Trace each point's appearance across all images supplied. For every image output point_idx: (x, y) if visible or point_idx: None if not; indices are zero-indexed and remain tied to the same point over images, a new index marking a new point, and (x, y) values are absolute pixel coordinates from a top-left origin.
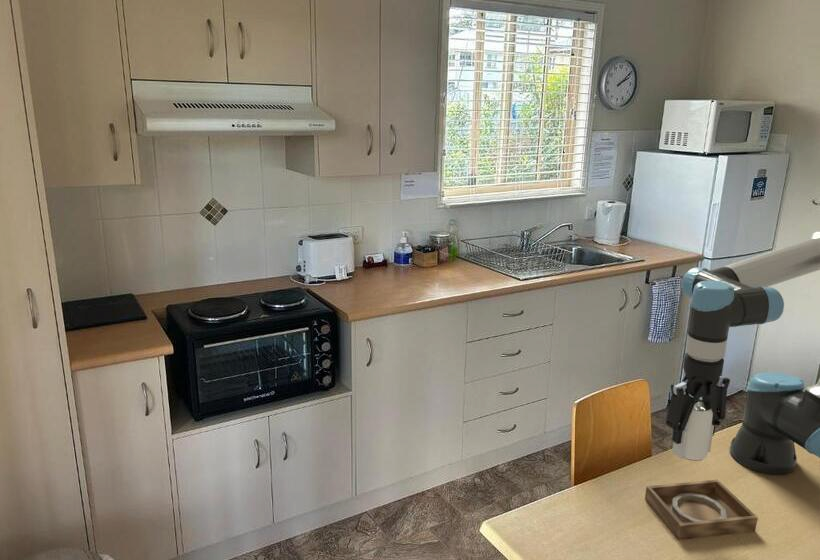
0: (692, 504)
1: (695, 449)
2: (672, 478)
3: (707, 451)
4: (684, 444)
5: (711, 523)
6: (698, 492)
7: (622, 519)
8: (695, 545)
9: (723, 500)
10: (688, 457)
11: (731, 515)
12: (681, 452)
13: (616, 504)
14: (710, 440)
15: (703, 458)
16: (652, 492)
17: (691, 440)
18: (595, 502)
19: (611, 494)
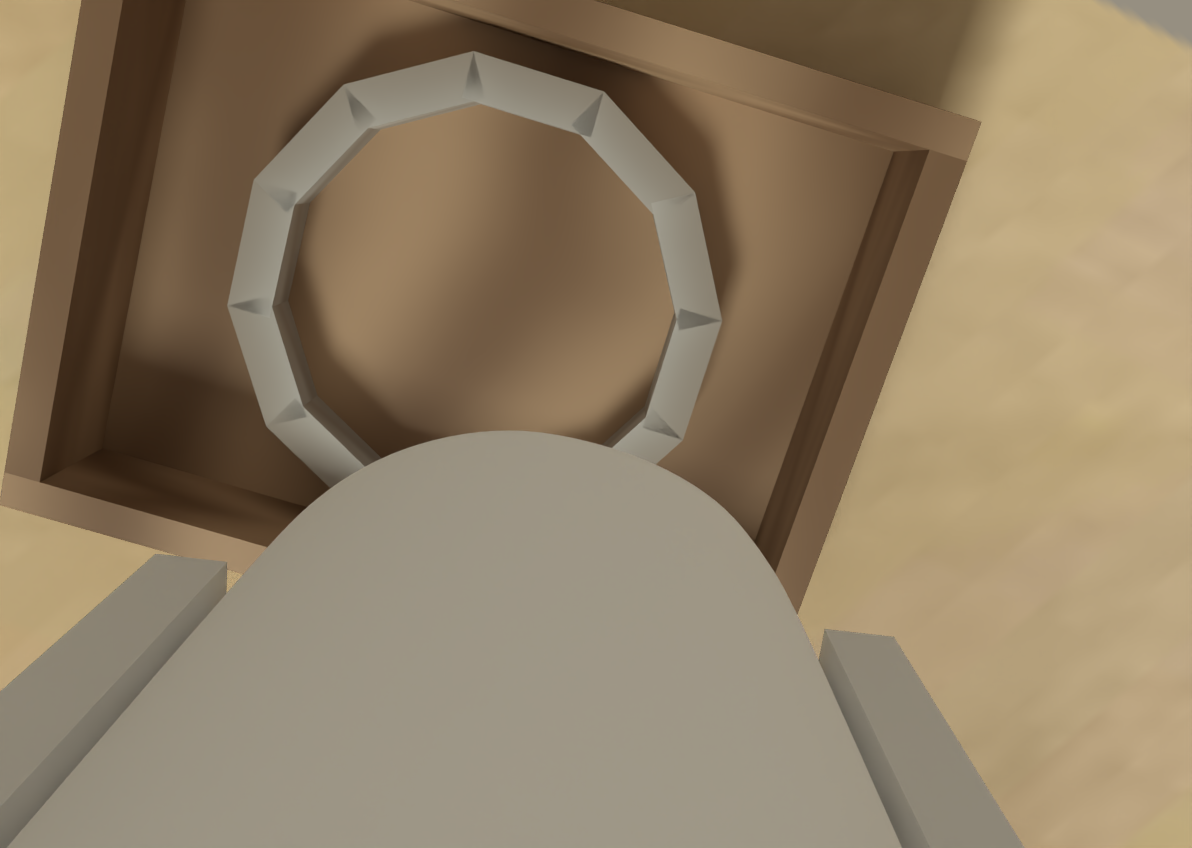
0: (437, 411)
1: (737, 590)
2: None
3: (326, 506)
4: (964, 825)
5: (644, 16)
6: (258, 501)
7: (1132, 539)
8: (857, 4)
9: (122, 324)
10: (777, 581)
11: (225, 137)
12: (929, 714)
13: (1012, 701)
14: (52, 693)
15: (503, 432)
16: None
17: (877, 826)
18: (1146, 790)
19: None
